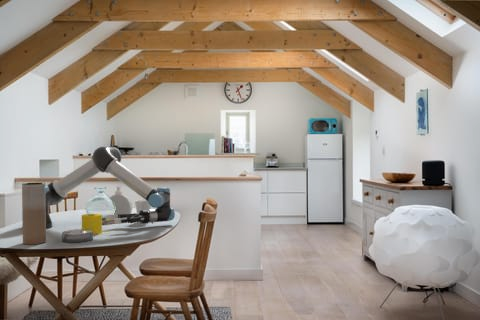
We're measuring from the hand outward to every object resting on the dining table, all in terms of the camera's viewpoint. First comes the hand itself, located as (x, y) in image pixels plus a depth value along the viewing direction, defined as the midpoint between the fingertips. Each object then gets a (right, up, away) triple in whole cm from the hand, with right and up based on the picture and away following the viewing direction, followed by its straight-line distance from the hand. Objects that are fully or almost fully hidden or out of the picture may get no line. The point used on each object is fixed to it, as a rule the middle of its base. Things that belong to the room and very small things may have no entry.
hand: (110, 219), depth 241 cm
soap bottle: (-8, -5, +47) cm, 48 cm away
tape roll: (-8, -6, -5) cm, 12 cm away
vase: (-27, -7, -29) cm, 40 cm away
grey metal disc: (-9, -7, -23) cm, 26 cm away
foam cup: (+11, -5, +30) cm, 33 cm away
